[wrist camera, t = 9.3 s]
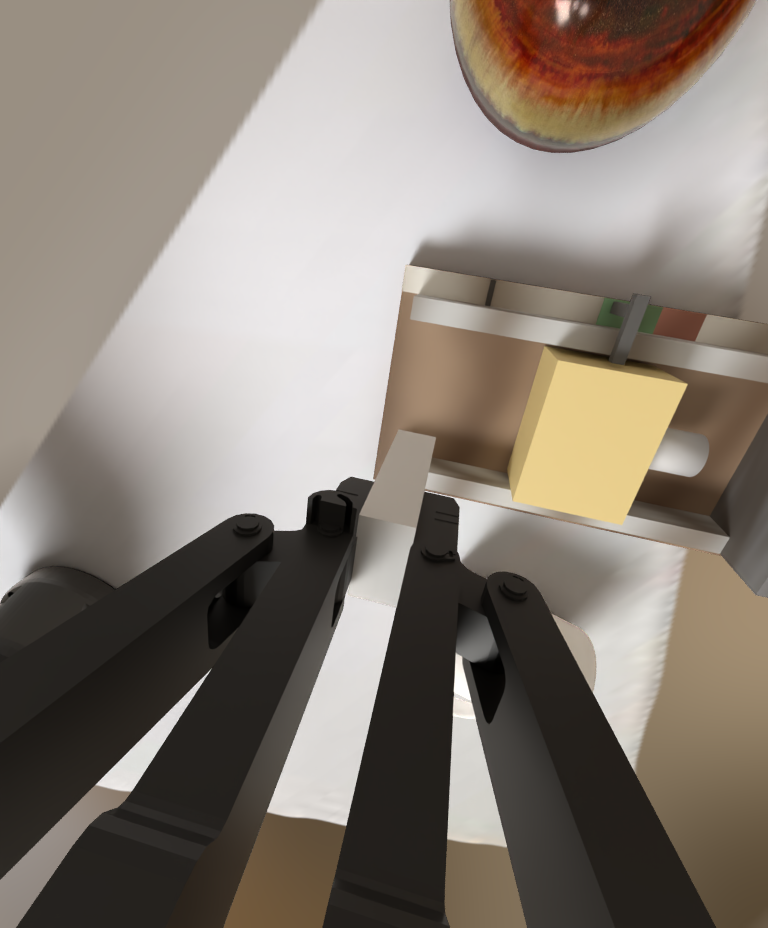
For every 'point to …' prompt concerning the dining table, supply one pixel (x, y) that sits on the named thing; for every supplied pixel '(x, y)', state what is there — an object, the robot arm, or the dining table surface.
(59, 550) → the dining table surface
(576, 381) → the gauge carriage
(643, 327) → the bench
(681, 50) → the vase
